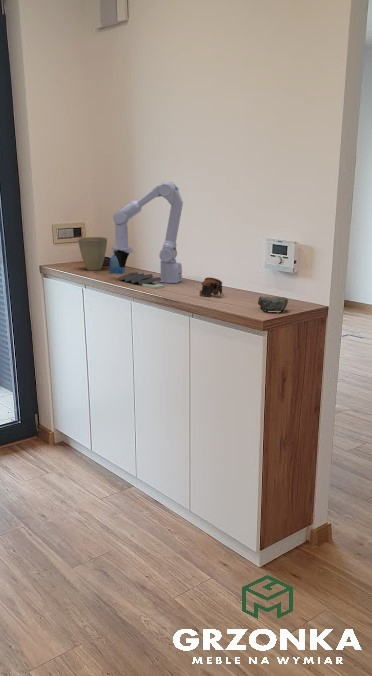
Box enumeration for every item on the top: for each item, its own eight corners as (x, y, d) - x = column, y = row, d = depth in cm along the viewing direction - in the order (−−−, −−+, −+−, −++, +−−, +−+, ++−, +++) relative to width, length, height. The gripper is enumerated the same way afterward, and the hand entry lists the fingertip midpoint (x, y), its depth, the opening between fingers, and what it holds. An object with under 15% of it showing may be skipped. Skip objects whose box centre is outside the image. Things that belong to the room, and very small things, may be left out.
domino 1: (118, 277, 273) (128, 273, 266) (127, 276, 276) (137, 272, 269) (119, 280, 273) (129, 276, 266) (128, 279, 276) (138, 275, 269)
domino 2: (124, 278, 269) (134, 274, 262) (133, 277, 272) (143, 273, 265) (125, 282, 269) (135, 277, 262) (134, 280, 272) (144, 276, 265)
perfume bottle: (124, 271, 299) (124, 248, 295) (122, 273, 293) (121, 249, 289) (112, 271, 299) (112, 247, 296) (110, 273, 293) (109, 249, 290)
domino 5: (142, 283, 259) (155, 286, 253) (151, 282, 262) (164, 285, 256) (142, 287, 260) (155, 290, 253) (151, 286, 263) (164, 288, 256)
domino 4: (138, 281, 262) (152, 278, 256) (146, 280, 265) (160, 277, 259) (138, 284, 262) (153, 281, 256) (146, 283, 266) (161, 280, 260)
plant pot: (77, 268, 310) (76, 237, 306) (105, 266, 314) (104, 236, 310) (81, 272, 296) (79, 240, 292) (110, 271, 300) (109, 239, 296)
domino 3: (131, 280, 265) (143, 274, 258) (139, 279, 268) (152, 274, 262) (131, 283, 265) (144, 278, 258) (140, 282, 268) (153, 277, 262)
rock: (292, 311, 212) (293, 297, 211) (273, 315, 206) (274, 301, 205) (267, 305, 222) (268, 292, 220) (248, 309, 216) (249, 295, 214)
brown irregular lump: (193, 295, 242) (198, 277, 243) (211, 304, 246) (217, 285, 248) (209, 293, 231) (215, 273, 233) (228, 301, 236) (233, 282, 237)
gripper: (105, 236, 273) (106, 266, 277) (122, 239, 262) (123, 269, 266) (118, 236, 277) (119, 264, 281) (136, 238, 267) (136, 268, 270)
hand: (122, 267), depth 274 cm, fingers closed
